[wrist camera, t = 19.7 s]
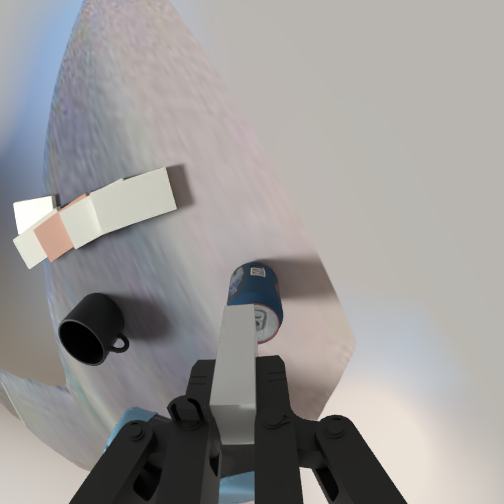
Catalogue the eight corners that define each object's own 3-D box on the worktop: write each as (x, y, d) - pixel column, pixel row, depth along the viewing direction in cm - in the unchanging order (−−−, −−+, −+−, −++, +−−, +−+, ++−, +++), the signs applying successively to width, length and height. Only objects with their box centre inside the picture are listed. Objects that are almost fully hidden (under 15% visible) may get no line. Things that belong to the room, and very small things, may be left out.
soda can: (271, 302, 44) (277, 351, 33) (228, 296, 44) (221, 344, 33) (280, 262, 42) (291, 304, 31) (234, 255, 42) (228, 295, 30)
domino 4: (122, 178, 35) (58, 212, 33) (138, 216, 37) (75, 249, 35) (123, 178, 37) (62, 211, 35) (139, 214, 39) (78, 246, 37)
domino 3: (84, 193, 36) (33, 230, 34) (102, 227, 38) (50, 262, 36) (87, 192, 37) (37, 227, 36) (105, 225, 40) (54, 258, 38)
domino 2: (55, 207, 36) (12, 240, 35) (72, 239, 39) (29, 269, 37) (59, 205, 38) (17, 237, 36) (75, 236, 40) (33, 265, 39)
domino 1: (51, 196, 37) (13, 203, 37) (56, 231, 39) (18, 234, 39) (57, 193, 39) (20, 200, 39) (62, 227, 41) (24, 231, 41)
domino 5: (165, 166, 35) (89, 192, 33) (176, 209, 37) (102, 234, 34) (165, 167, 37) (93, 192, 34) (176, 207, 39) (105, 231, 36)
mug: (132, 349, 48) (116, 380, 40) (79, 322, 46) (57, 349, 38) (142, 313, 45) (123, 344, 37) (84, 284, 43) (58, 309, 35)
